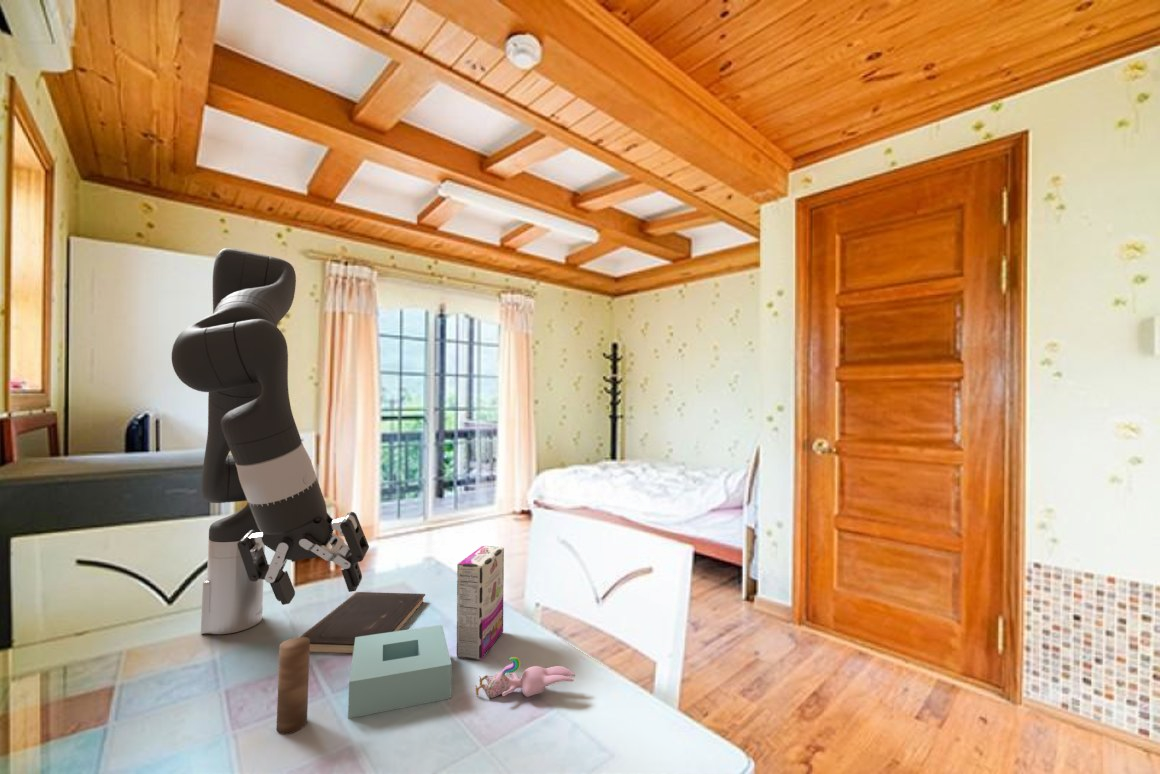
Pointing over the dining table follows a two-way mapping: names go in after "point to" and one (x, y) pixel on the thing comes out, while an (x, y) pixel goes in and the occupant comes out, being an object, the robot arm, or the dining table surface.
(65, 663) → the dining table surface
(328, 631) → the hardcover book
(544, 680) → the rabbit figure
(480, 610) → the candy bar box
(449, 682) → the square hole block
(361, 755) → the dining table surface
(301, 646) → the brown round-topped dowel
